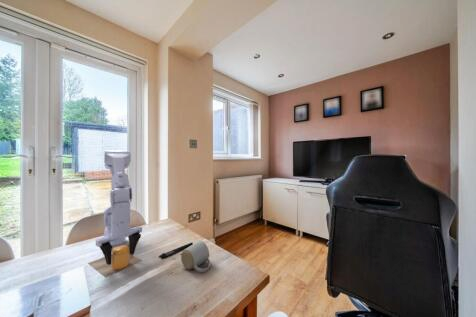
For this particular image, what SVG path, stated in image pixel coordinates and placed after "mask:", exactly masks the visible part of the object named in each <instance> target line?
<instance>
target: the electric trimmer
mask: <svg viewBox="0 0 476 317" xmlns="http://www.w3.org/2000/svg"><path fill="white" fill-rule="evenodd" d="M193 244H194V243H193V242H189V243H186V244H184V245H182V246H179V247H177V248H174V249H172V250H169V251H167V252H163V253H161V254H160V255H159V256H158V258H159V259H160V260H165V259H168V258H169V257H172V256H174V255H176V254H178V253H180V254H179V256H181V254H182V252H183V251H184V250H185V249H186V248H188V247H189V246H191V245H193Z"/></svg>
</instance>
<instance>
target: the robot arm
mask: <svg viewBox="0 0 476 317" xmlns="http://www.w3.org/2000/svg"><path fill="white" fill-rule="evenodd" d="M131 156H132V155H131V151H130V150H112V149H111V150H108V149H106V150H104V156H103V157H104V167H105V169H107V170H109V171H110V174H111V178H110V184H111V185H110V186H111V187H110V188H111V189H110V192H109V200H110V201H109V202H110V205H108V206H107V207H106V208H105V209H104V212H103V227H104V232H103V236H102V237H99V238H97V239H95V246H96V247H98V248H99V249H100V250H101V253H102V254H103V257H105V260H106V263H107V264H108V265H110V264H111V254H112V250H113V248H114V247H113V246H117V245H118V246H119V245H121V244H123V243H125V242H126V238H127V239H128V246H129V249H130V252H129V253H130V254H131V255H135V251H136V248H137V245H138V242H139V240H140V239H141V238H142V237H141V236H142V234H141V233H143V226H140V225H139V226H135V227H131V203H132V200H133V189H132V187H131V184H130V181H129V180H130V179H129V175H128V174H127V173H125V169H128V168H129V166H130V163H131V162H132V161H131V160H132V157H131Z"/></svg>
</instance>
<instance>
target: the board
mask: <svg viewBox="0 0 476 317" xmlns="http://www.w3.org/2000/svg"><path fill="white" fill-rule="evenodd" d="M140 262H143V260H142V259H141V258H139V257H137V256H135V254H133V255H131V254H130V253H129V264H128V266H126V267H124V268H122V269H115V270H114V269H113V268H112V253H111V264H110V265H108V264H107V263H106V260H105V256H103V257H100V258H98V259H95V260H92V261H89V262H88V263H87V264H88V265H89V266H90V267H92V268H93V269H94V270H96V272H98V273H99V274H100V275H101V276H103V277H104V278H105V279H106V278H108V277H110V276H113V275H114V274H117V273H119V272H121V271H123V270H125V269H128V268H129V267H131V266H134V265H136V264H139V263H140Z"/></svg>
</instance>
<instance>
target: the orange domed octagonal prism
mask: <svg viewBox="0 0 476 317" xmlns="http://www.w3.org/2000/svg"><path fill="white" fill-rule="evenodd" d="M129 252H130V249H129V244H127V245H126V244H124V245H123V244H122V245H118V246H115V247H113V248H112V253H111V254H112V268H113V269H114V270H115V269H122V268H124V267H126V266H128V264H129Z"/></svg>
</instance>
